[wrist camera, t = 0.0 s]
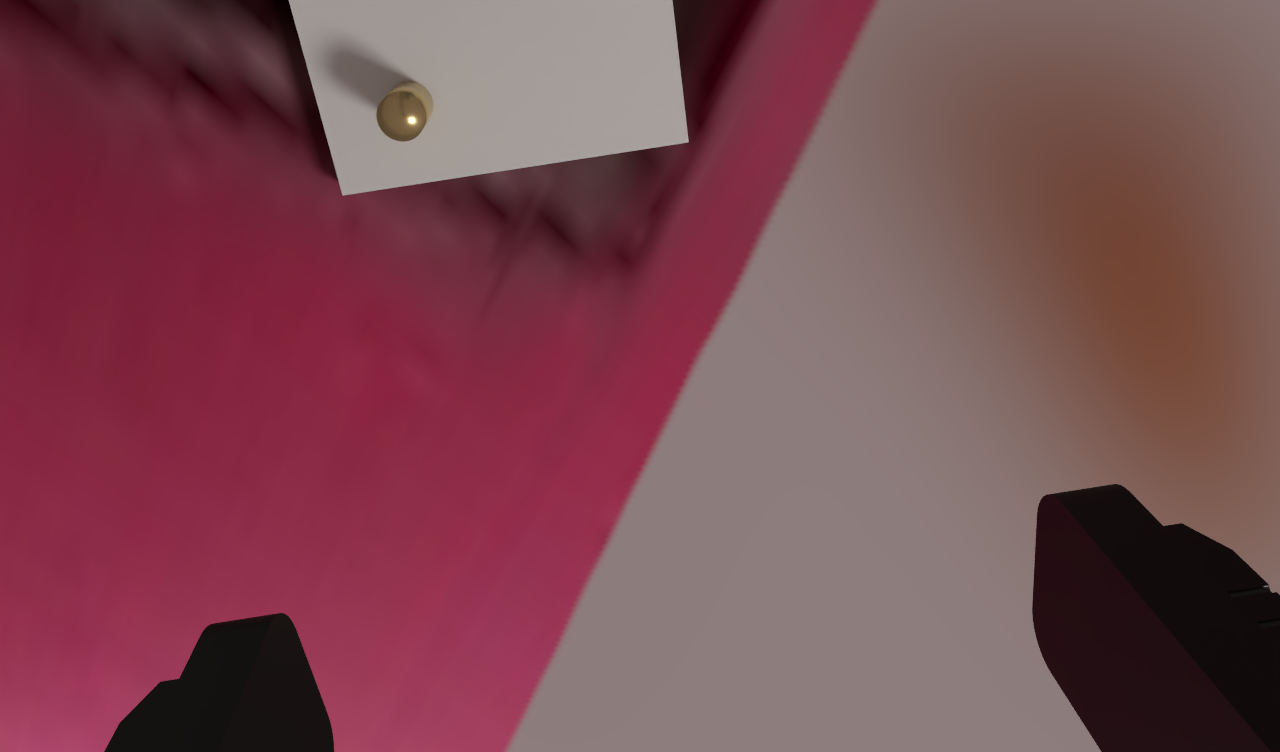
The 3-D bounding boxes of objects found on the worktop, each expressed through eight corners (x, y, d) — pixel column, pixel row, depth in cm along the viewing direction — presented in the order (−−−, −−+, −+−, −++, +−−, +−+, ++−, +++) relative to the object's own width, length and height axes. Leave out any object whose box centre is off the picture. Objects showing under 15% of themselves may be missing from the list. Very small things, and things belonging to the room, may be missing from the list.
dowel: (383, 84, 35) (371, 97, 33) (427, 77, 35) (418, 89, 33) (394, 129, 35) (383, 144, 33) (437, 123, 35) (429, 137, 33)
